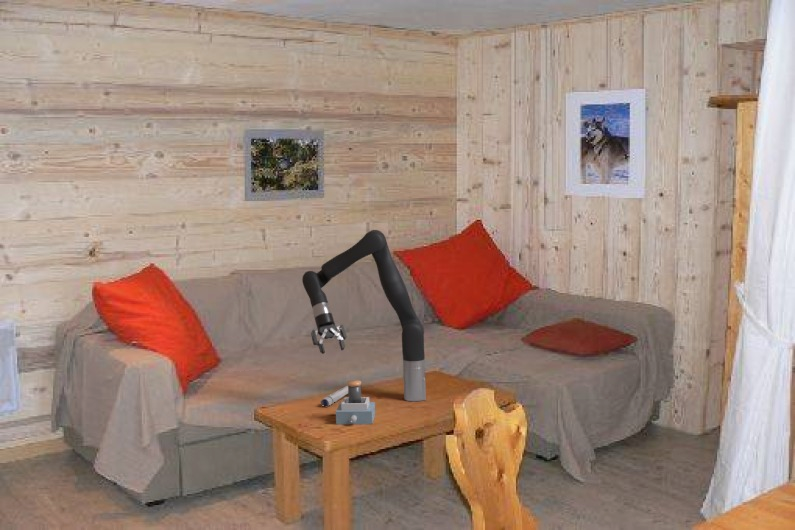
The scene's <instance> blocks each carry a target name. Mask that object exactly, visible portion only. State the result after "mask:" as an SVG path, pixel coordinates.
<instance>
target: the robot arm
mask: <svg viewBox="0 0 795 530" xmlns="http://www.w3.org/2000/svg"><path fill="white" fill-rule="evenodd" d="M370 255H371V256H372V258H373V261H374V262H375V265H376V267H377V274H378V276H379V278H378V279H379V281H380V285H381V287H382V290H383V292H384V295H385V296H386V299H387V301H388V302H389V303H390V306H391V307H392V308H393V310H394V311H395V313H396V315H397V317H398V320H399V323H400V326H401V330H402V331H401V349H402V351H401V352H402V369H403V371H402V372H403V376H402V377H403V399H404V400H405V401H408V402H421V401H426V399H427V398H426V397H427V394H426V391H427V390H426V385H427V384H426V367H425V365H426V363H425V362H426V361H425V356H426V355H425V337H424V336H425V328H424V326H423V324H422V322H421V321H420V319H419V316H417V313H416V311H415V309H414V307H413V304H412V301H411V298H410V296H409V291H408V289H407V287H406V285H405V283H404V280H403V277H402V275H401V273H400V271H399V269H398V267H397V265H396V263H395V261H394V260H393V257H392V254H391V252H390V249H389V245H388V241H387V238H386V236H385V234H384V233H383V232H382V231H380V230H378V229H372V230H369V231H368V232H367V233H365V234H364V236H363V237H361V239H359V240H358V241H357V242H356V243H355V244H354V245H352V246H351V247H350V248H348V249H346V250H345V251H343V252H341V253H340V254H338V255H336V256H334V257H332V258H331V259H329V260H328V261H326V262H325V263H323V264H322V265H321V269H320V270H319V271H317V272H315V271H313V270H308V271H305V272H304V273H303V275H302V279H301V280H302V284H303V288H304V290H305V292H306V294H307V296H308V298H309V302H310V305H311V308H312V315H313V318H314V321H315V326H316V328H317V330H315V329H313V330H311V333H310V334H311V335H310V336H311V341H312V344H313V345H314V346H318V349H319V353H320V354H322V355H324V354H325V352H326V351H325V347H324V343H323V341H324V340H328V339H333V338H334V339H335V340H337V341H338V343H339V347H340V351H344V350H345V348H346V346H345V340H346V339H347V333H346V330H345V327H344V325H343V324H340V325H336V323H335V321H334V317H333V314H332V309H331V307H330V305H329V301H328V299H327V296H326V293H325V291H323V289H322V288H323V287H325V286H326V285H327V284H328V283H329V282H330V281H331V280H332V279H333V278H335V277H336V276H338V275H340V274H341V273H342V272H344V271H345V270H347V269H348V268H349V267H351V266H352V265H353V264H355V263H356V262H358V261H361V259H363V258H366V257H367V256H370ZM337 331H338V332H337ZM339 332H340V333H339ZM317 335H319V336H320V338H319V339H317ZM318 340H319V341H318Z"/></svg>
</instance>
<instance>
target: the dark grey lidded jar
mask: <svg viewBox="0 0 795 530" xmlns="http://www.w3.org/2000/svg"><path fill="white" fill-rule="evenodd" d="M347 385H348V394H347V396H348V399H349V403H361V397H362V381H361V380H357V379H356V380H349V381H347ZM347 385H346V386H347Z"/></svg>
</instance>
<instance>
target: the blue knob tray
mask: <svg viewBox="0 0 795 530" xmlns="http://www.w3.org/2000/svg"><path fill="white" fill-rule="evenodd" d="M375 416H376V402H375V401H370V396H367V397H365V396H364V397H362V396H361V403H349V399H348V397H347V396H344V397H343V398H342V401H341V402H339V404H338V407H337V408H336V410H335V424H336V425H373V424H374V423H373V422H374V419H375Z"/></svg>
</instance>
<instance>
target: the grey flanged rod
mask: <svg viewBox="0 0 795 530" xmlns="http://www.w3.org/2000/svg"><path fill="white" fill-rule="evenodd" d="M346 395H347V396H348V385H345V386H344V387H342V388H340V389H338V390H336V391H334V392H332V393H331V394H328V395H326V396H325V397H324V398H323V399H321V401H320V405H321V406H322V405H324V406H329V405H330V406H331V404H333V405H334V404H335V403H336V402H338V401H339V400H341V399H343V398H344V397H346ZM334 402H335V403H334ZM330 406H329V407H330Z"/></svg>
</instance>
